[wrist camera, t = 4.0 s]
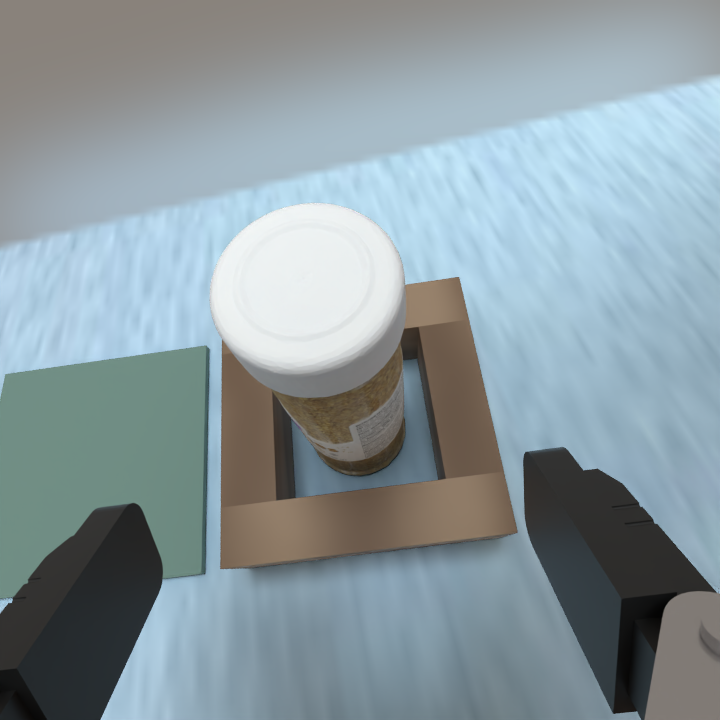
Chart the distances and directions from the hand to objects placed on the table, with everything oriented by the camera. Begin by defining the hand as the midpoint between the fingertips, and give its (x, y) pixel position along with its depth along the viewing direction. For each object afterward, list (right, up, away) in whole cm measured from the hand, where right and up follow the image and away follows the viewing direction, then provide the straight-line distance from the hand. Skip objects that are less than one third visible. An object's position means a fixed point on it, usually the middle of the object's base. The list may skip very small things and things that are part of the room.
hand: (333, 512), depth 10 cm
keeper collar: (+1, 0, +13) cm, 13 cm away
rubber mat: (-12, -2, +14) cm, 18 cm away
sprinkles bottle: (+1, 0, +13) cm, 13 cm away
